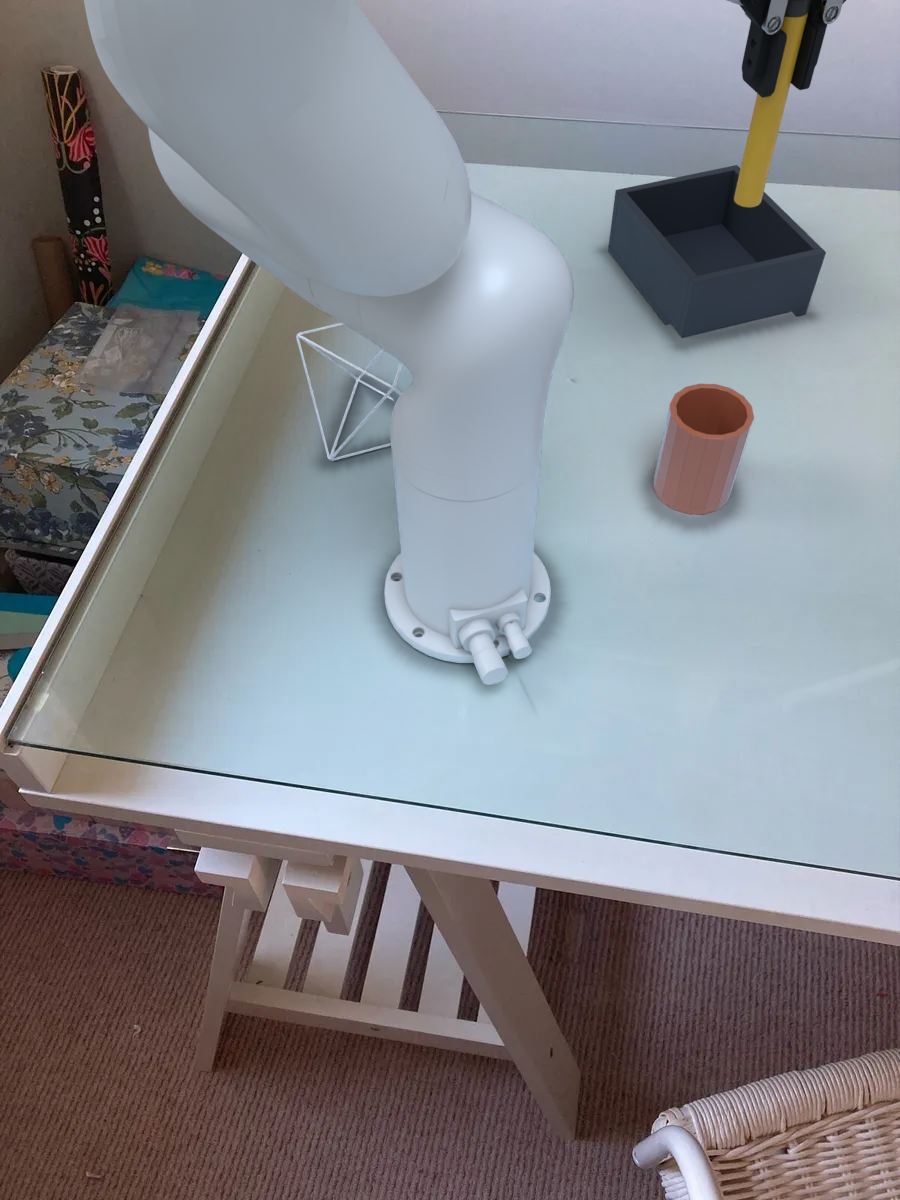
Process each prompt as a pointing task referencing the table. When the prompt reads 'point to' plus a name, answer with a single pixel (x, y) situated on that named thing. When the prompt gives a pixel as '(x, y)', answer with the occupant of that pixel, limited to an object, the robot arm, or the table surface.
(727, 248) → the bin
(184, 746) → the table surface
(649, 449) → the table surface
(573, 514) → the table surface
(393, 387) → the geometric polyhedron
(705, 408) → the pencil cup
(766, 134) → the pencil
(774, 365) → the table surface
